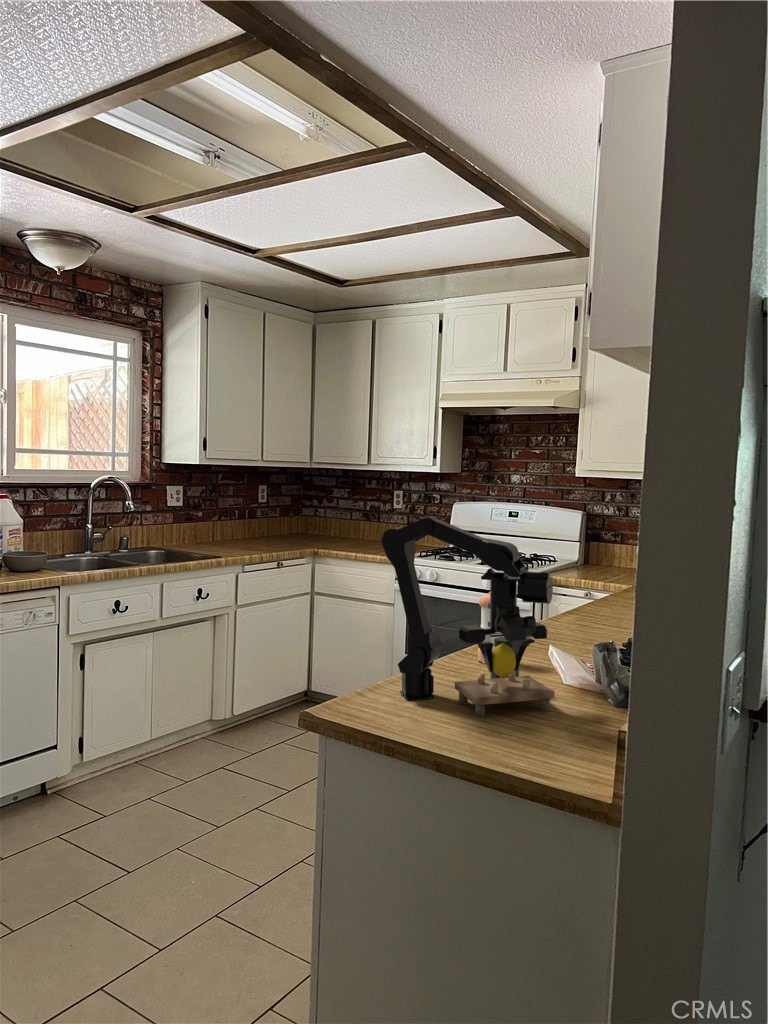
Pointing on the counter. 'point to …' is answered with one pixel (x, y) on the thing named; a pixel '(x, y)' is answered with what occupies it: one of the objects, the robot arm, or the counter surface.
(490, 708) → the counter surface
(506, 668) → the lemon
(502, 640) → the supplement bottle
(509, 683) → the peg shelf
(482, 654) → the robot arm
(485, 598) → the pepper shaker
